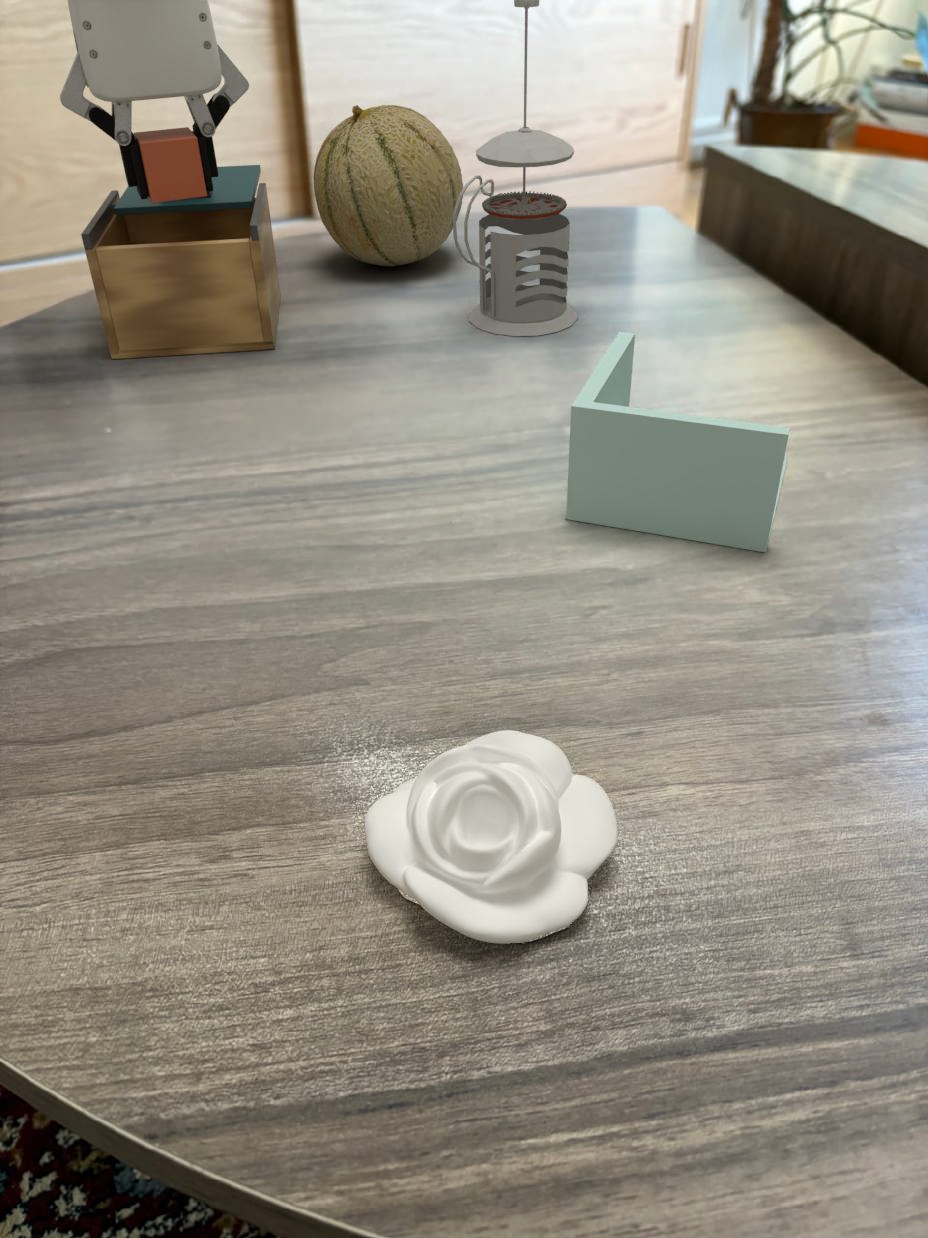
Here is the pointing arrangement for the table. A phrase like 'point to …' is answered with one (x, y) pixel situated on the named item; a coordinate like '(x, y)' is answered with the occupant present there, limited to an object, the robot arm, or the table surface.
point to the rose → (495, 837)
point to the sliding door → (228, 193)
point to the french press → (521, 236)
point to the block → (171, 164)
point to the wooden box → (185, 279)
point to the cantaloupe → (387, 185)
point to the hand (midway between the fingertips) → (174, 188)
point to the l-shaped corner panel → (669, 465)
